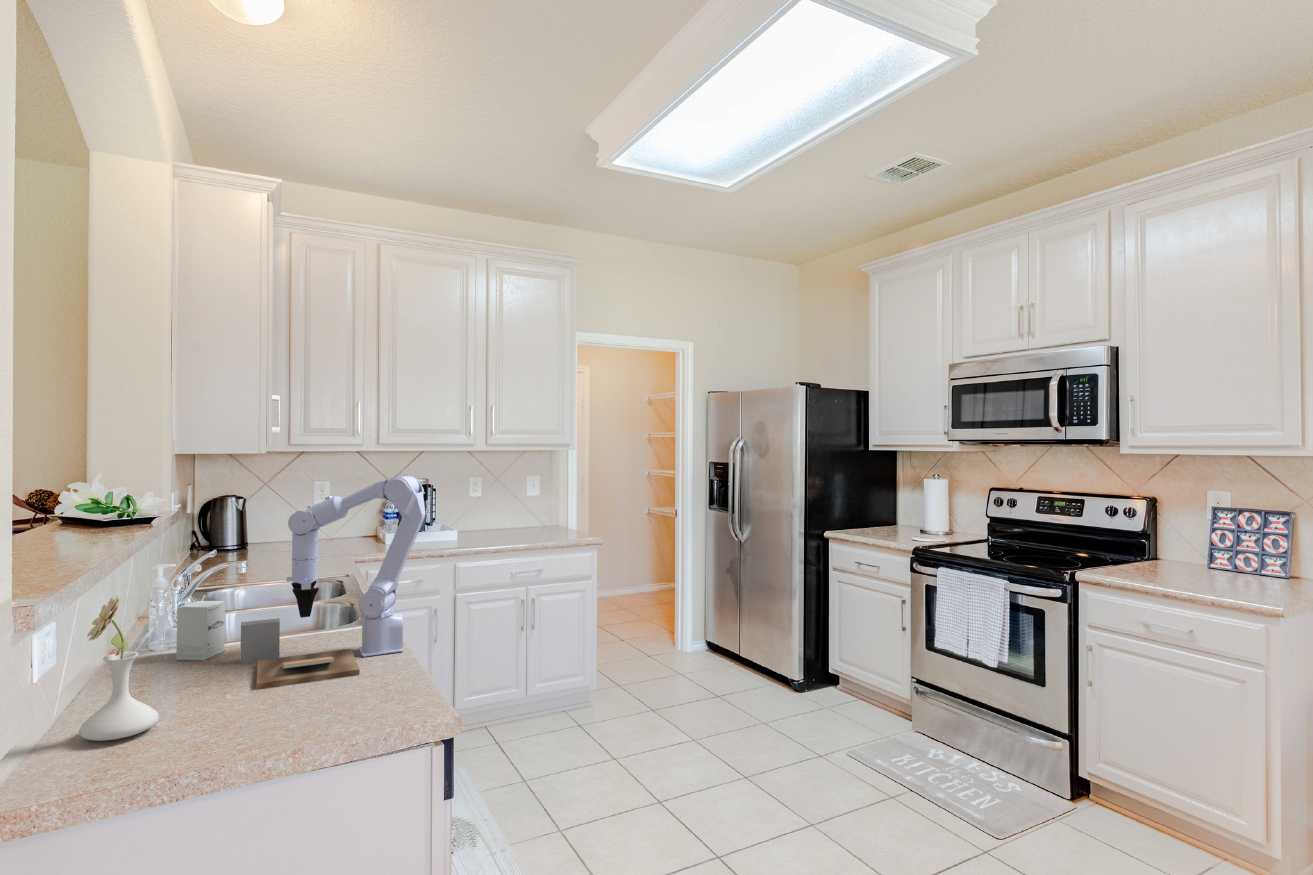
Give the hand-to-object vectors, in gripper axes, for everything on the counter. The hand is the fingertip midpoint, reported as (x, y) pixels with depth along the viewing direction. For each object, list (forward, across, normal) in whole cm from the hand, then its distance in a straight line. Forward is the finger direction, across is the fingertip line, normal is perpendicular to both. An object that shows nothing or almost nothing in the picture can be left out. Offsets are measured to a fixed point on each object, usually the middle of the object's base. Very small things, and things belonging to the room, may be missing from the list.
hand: (304, 613), depth 174 cm
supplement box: (+10, -8, -22) cm, 25 cm away
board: (+9, +16, 0) cm, 19 cm away
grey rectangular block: (+10, +2, -9) cm, 14 cm away
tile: (+7, +19, 0) cm, 20 cm away
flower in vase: (+10, +40, -31) cm, 51 cm away
